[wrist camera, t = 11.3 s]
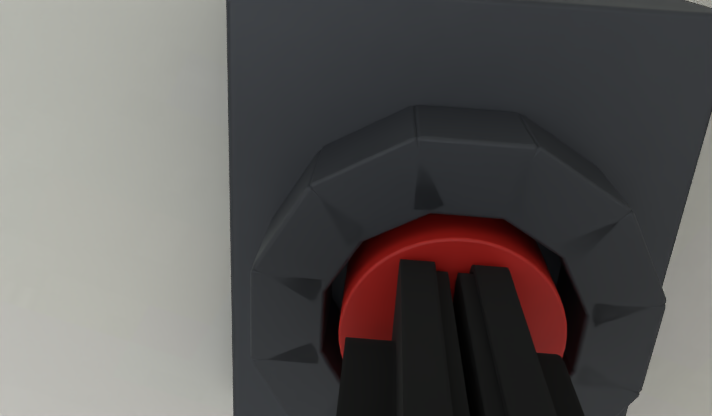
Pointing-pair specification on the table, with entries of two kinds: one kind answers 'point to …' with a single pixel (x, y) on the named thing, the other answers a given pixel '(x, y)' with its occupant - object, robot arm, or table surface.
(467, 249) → the button
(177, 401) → the table surface
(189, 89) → the table surface
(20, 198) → the table surface
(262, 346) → the dark grey button housing
